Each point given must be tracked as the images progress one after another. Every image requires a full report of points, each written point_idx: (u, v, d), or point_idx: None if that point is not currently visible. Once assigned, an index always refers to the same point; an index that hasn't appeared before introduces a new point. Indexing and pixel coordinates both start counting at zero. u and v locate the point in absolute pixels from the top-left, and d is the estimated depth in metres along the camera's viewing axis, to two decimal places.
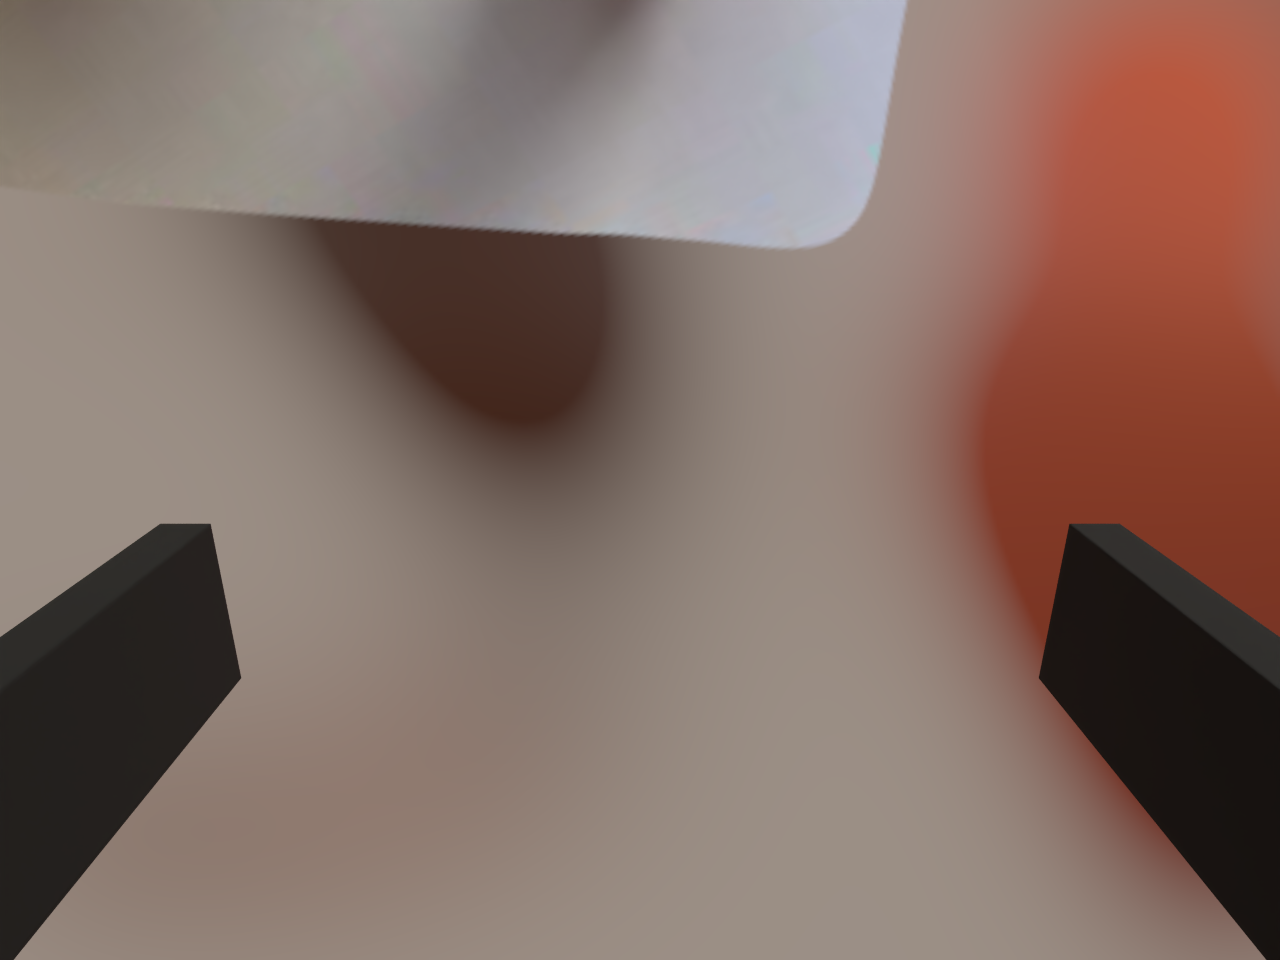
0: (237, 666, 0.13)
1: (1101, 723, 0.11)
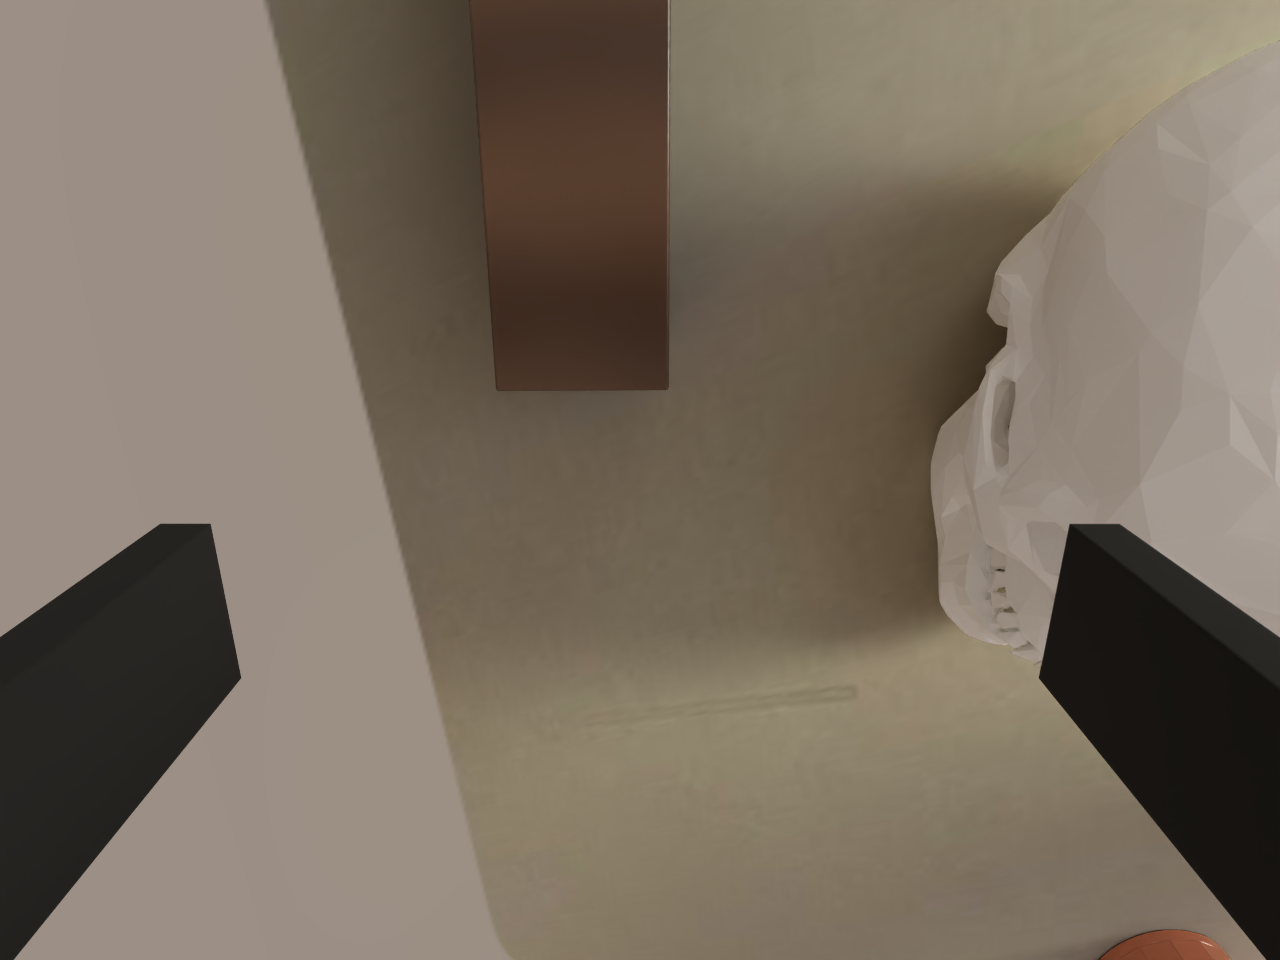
0: (237, 665, 0.13)
1: (1101, 723, 0.11)
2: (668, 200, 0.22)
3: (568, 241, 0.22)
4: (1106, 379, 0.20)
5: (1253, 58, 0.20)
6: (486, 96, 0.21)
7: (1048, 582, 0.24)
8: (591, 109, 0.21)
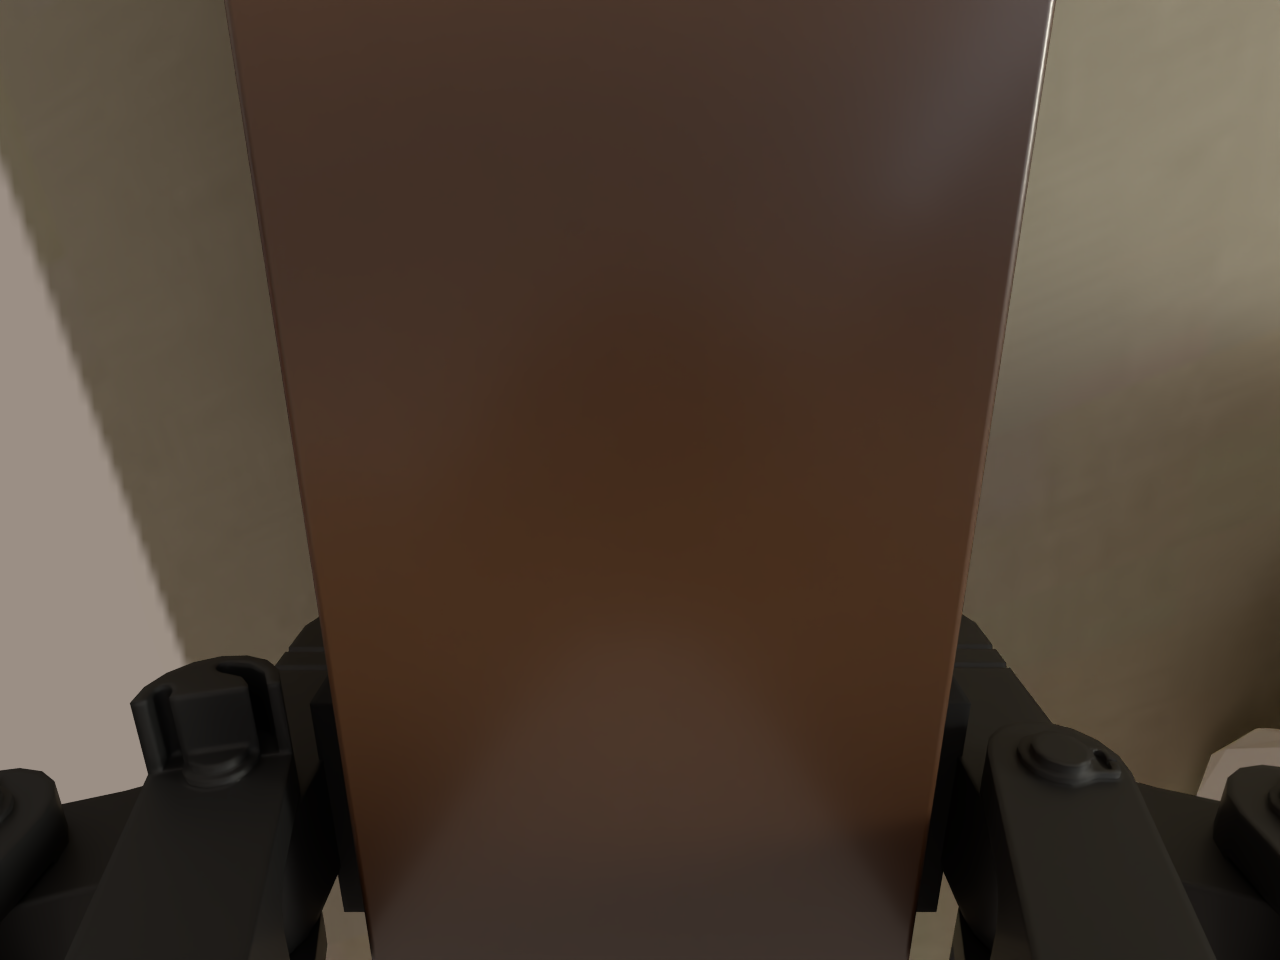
0: None
1: None
2: (954, 661, 0.06)
3: (611, 770, 0.07)
4: None
5: None
6: (314, 335, 0.05)
7: None
8: (707, 383, 0.06)
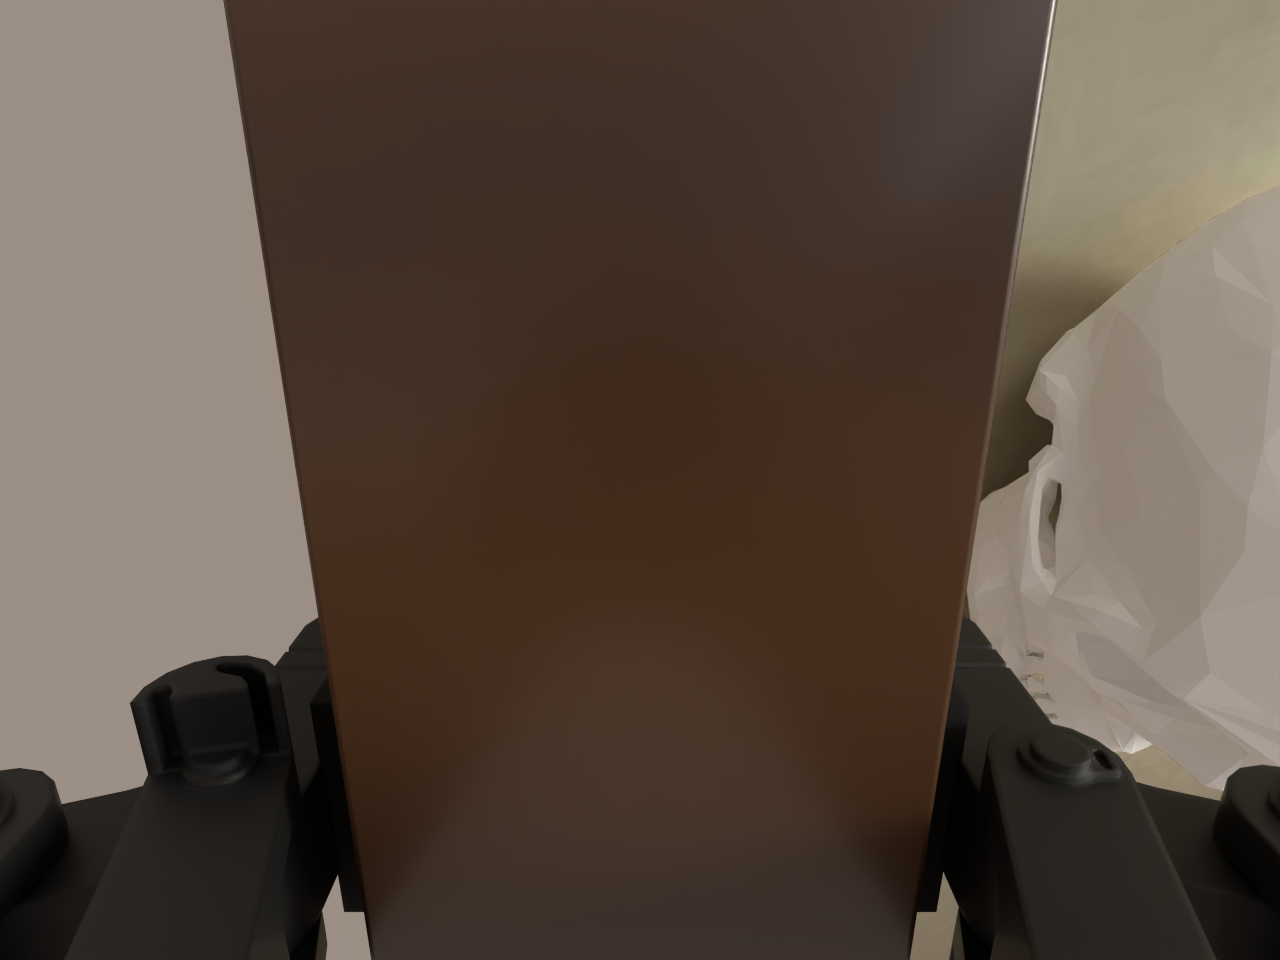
0: None
1: None
2: (955, 660, 0.06)
3: (610, 770, 0.07)
4: (1163, 506, 0.20)
5: None
6: (313, 333, 0.05)
7: (1095, 685, 0.24)
8: (706, 382, 0.06)
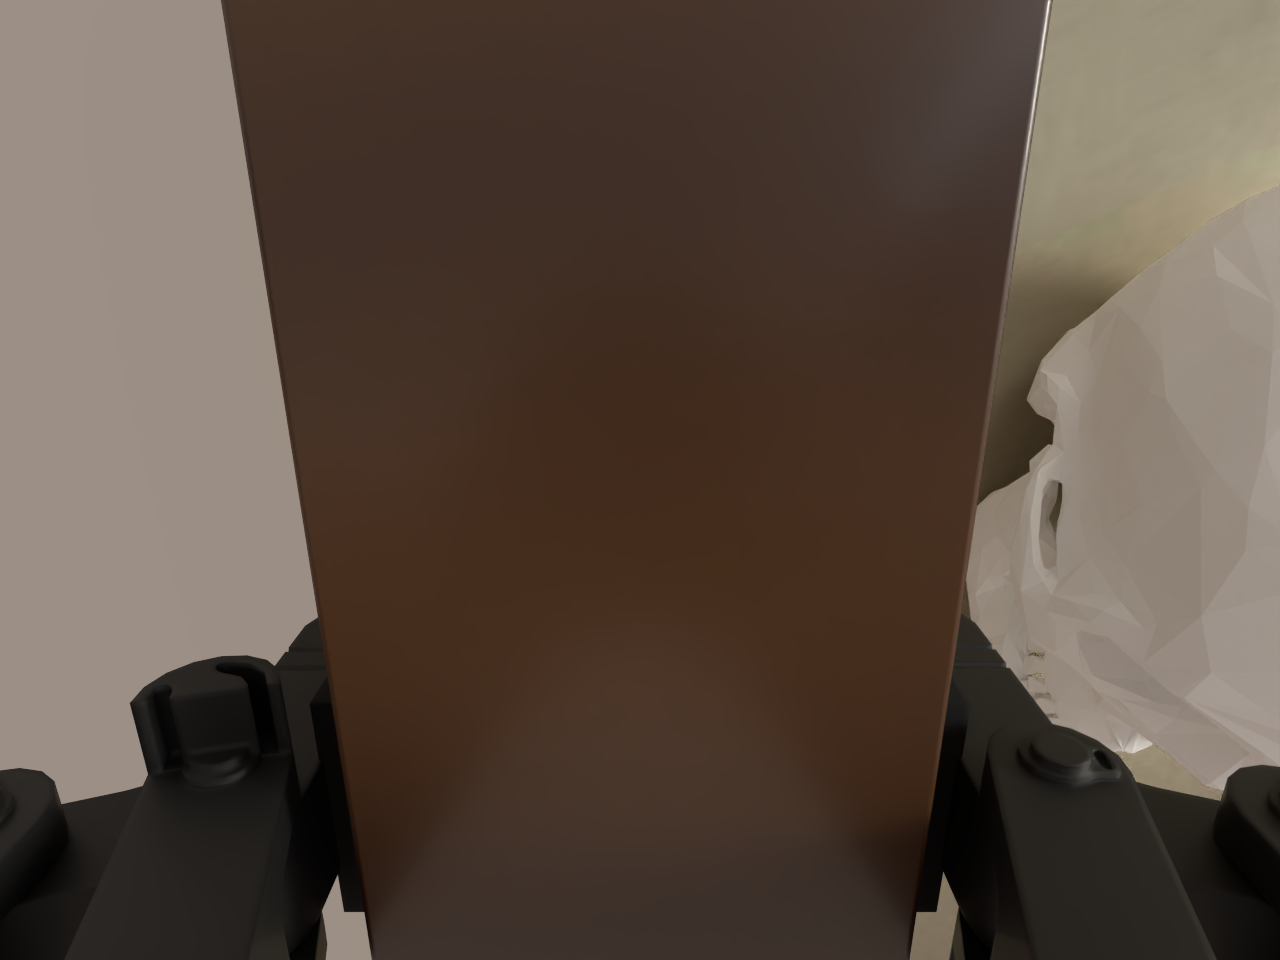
0: None
1: None
2: None
3: (609, 767, 0.07)
4: (1164, 506, 0.20)
5: None
6: (312, 332, 0.05)
7: (1095, 685, 0.24)
8: (705, 380, 0.06)
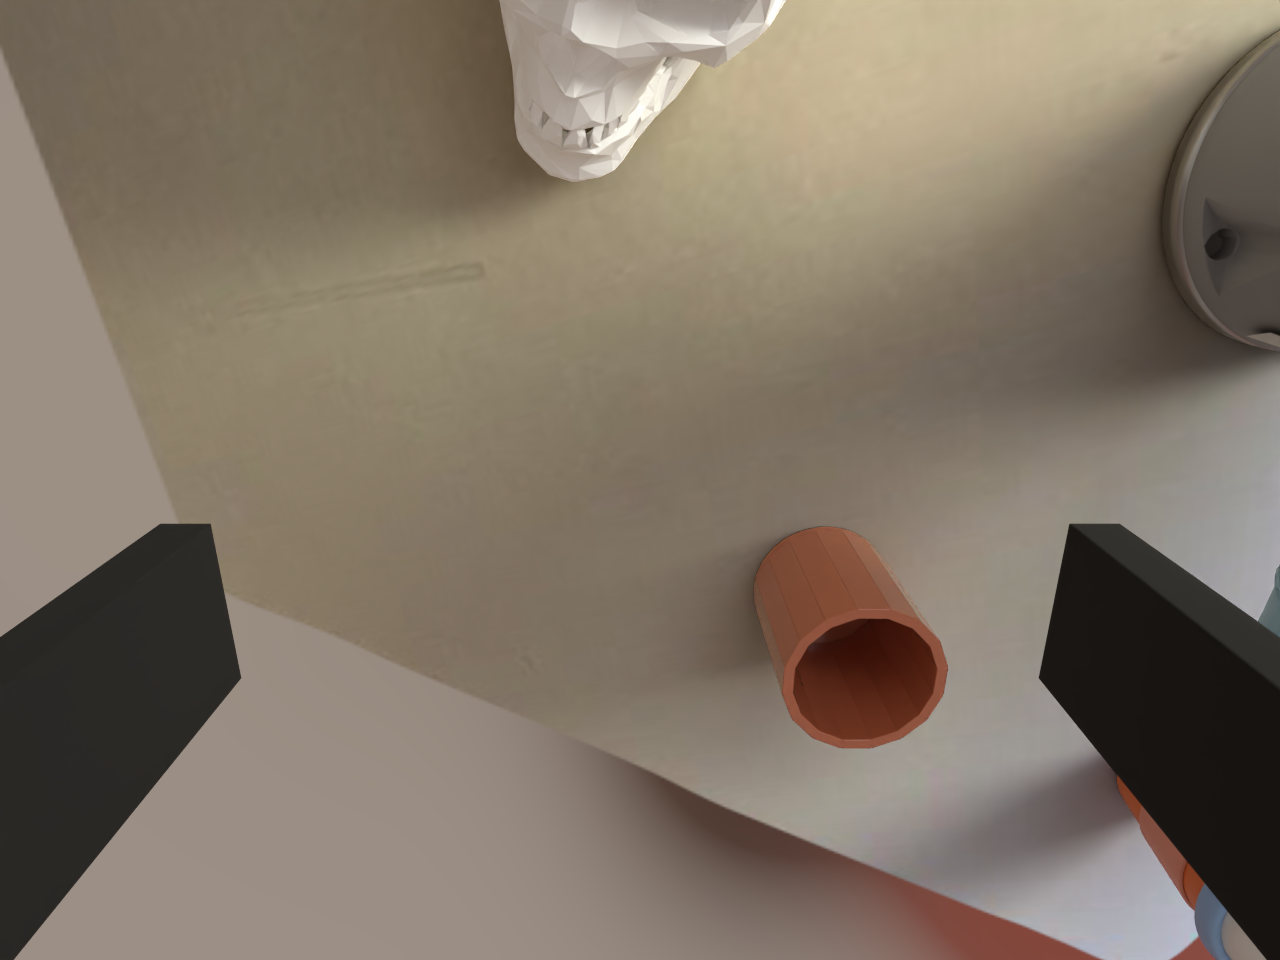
0: (237, 665, 0.13)
1: (1101, 723, 0.11)
2: None
3: None
4: None
5: None
6: None
7: None
8: None
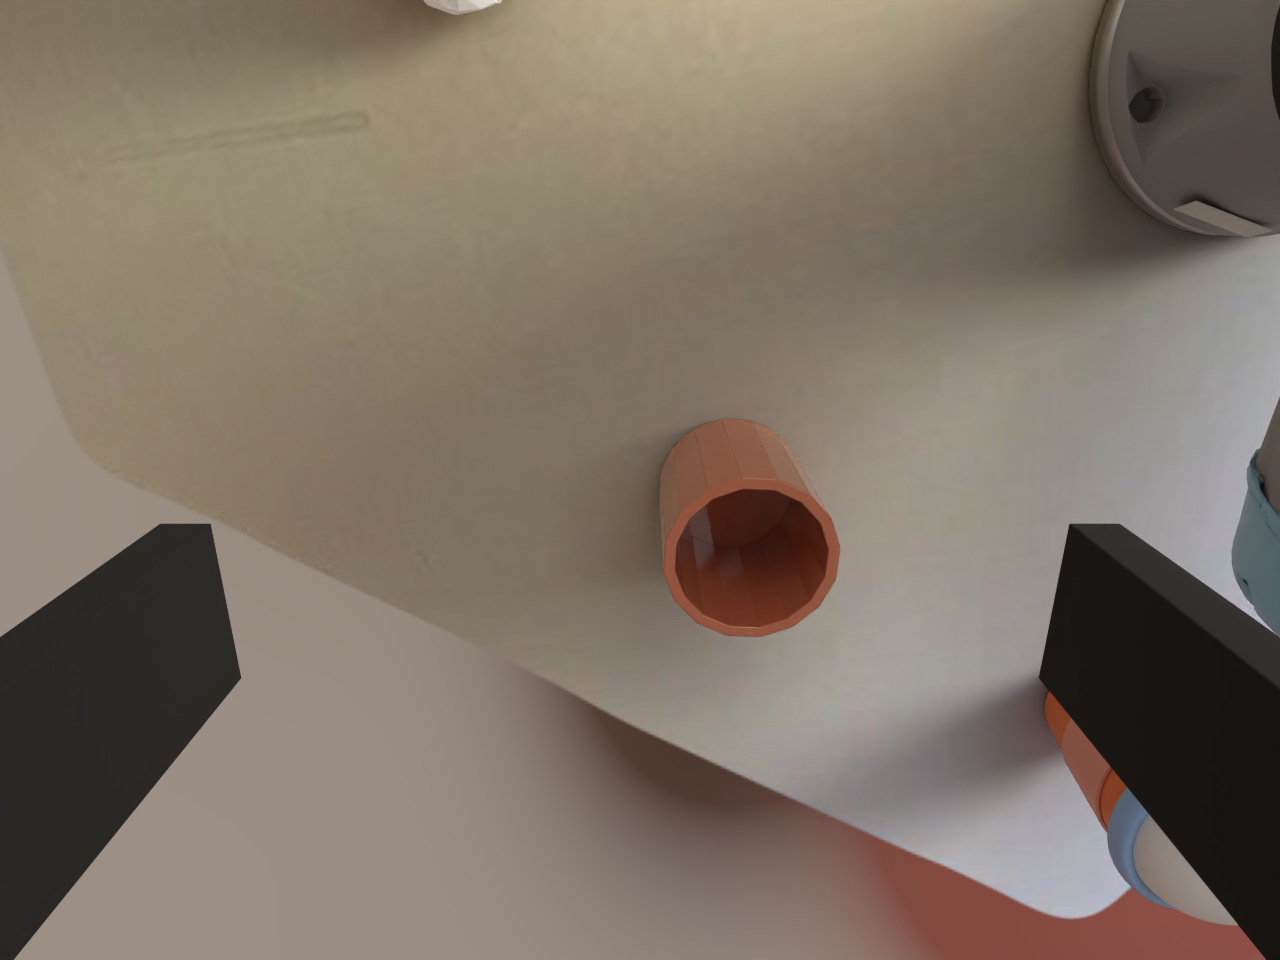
0: (237, 665, 0.13)
1: (1101, 723, 0.11)
2: None
3: None
4: None
5: None
6: None
7: None
8: None
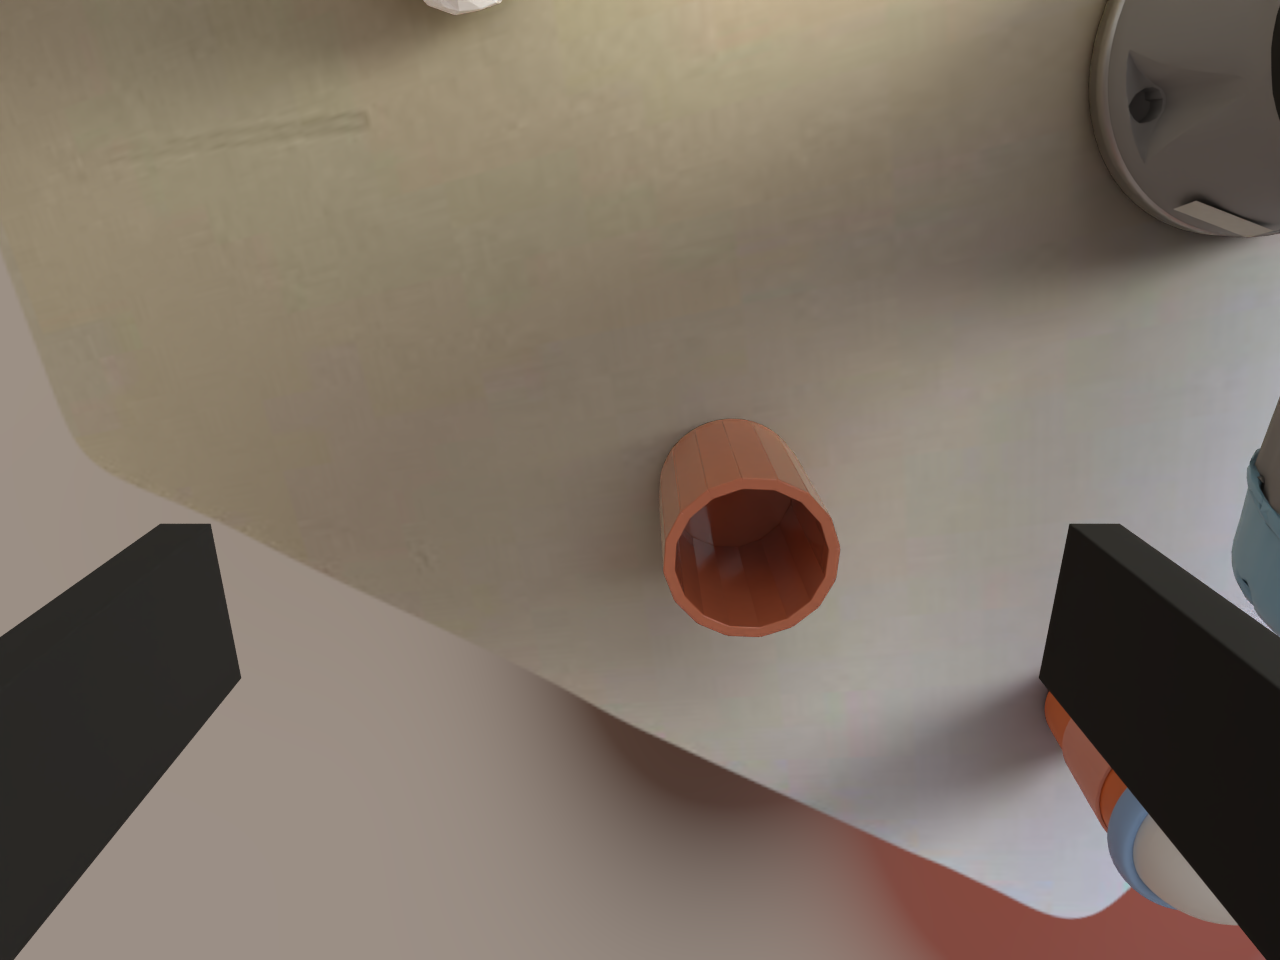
0: (237, 665, 0.13)
1: (1101, 723, 0.11)
2: None
3: None
4: None
5: None
6: None
7: None
8: None
